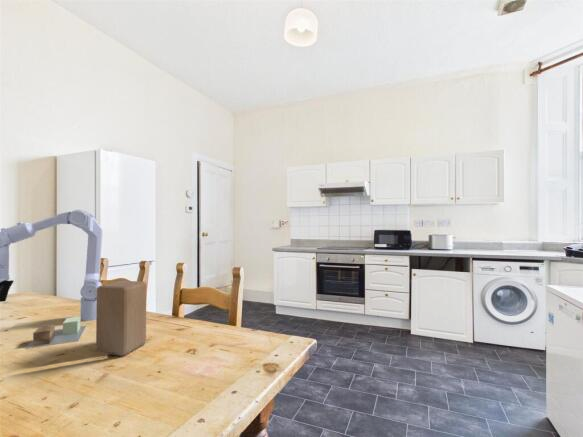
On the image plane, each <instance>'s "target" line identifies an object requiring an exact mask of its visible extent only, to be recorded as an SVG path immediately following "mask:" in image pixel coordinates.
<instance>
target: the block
mask: <svg viewBox="0 0 583 437" xmlns="http://www.w3.org/2000/svg"><path fill="white" fill-rule="evenodd" d="M147 287H148V286H147V282H145V281H131V280H119V281H115V282H112V283H111V282H110V283H106V284H102V286H99V287H98V288H97V319H96V320H95V321H96V327H95V328H96V331H95V332H96V333H95V334H96V336H95V340H96V341H95V351H97V352H105V353H107V352H108V356H109V355H110V356H119V357H123V356H126V355H128V354H130V353H132V352H134V350H137V349H138V348H140V347H142V346H144V345H145V344H146V342H147Z"/></svg>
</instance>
